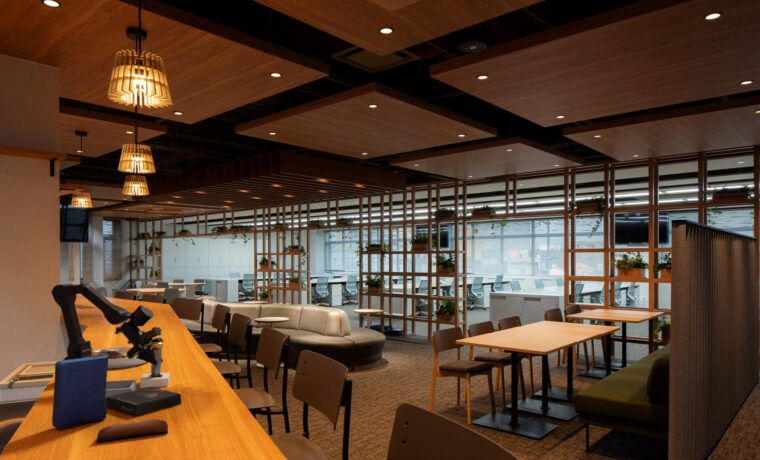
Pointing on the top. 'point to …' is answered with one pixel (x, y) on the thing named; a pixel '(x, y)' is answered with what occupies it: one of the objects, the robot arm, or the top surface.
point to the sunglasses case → (132, 429)
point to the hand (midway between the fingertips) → (159, 363)
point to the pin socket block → (154, 380)
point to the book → (80, 391)
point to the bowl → (118, 357)
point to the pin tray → (119, 387)
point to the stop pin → (157, 355)
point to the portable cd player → (143, 401)
